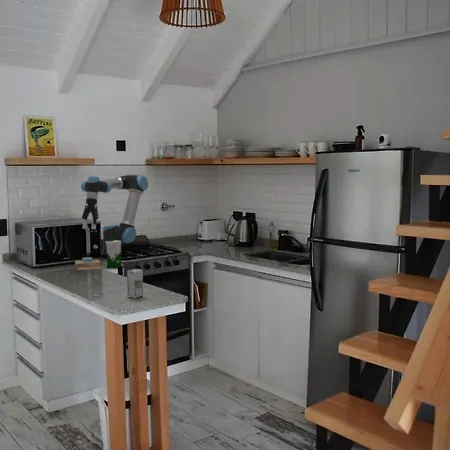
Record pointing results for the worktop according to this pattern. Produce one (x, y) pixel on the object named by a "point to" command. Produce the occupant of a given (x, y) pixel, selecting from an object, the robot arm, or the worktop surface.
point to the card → (87, 259)
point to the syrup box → (135, 282)
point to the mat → (89, 268)
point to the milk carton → (113, 253)
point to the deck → (87, 263)
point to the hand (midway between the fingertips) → (88, 229)
